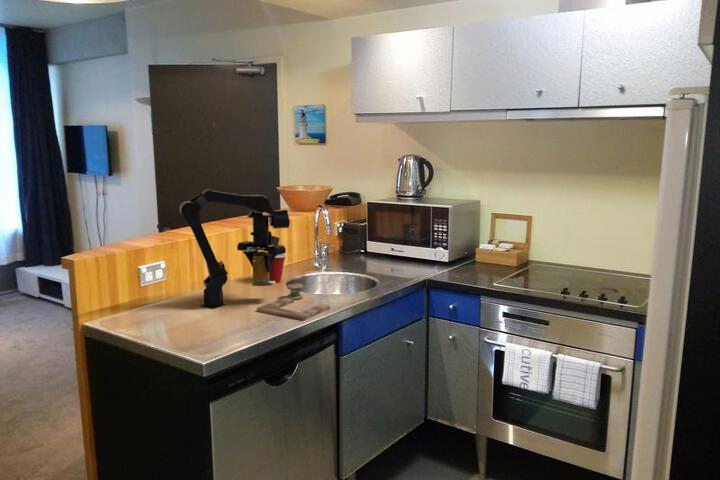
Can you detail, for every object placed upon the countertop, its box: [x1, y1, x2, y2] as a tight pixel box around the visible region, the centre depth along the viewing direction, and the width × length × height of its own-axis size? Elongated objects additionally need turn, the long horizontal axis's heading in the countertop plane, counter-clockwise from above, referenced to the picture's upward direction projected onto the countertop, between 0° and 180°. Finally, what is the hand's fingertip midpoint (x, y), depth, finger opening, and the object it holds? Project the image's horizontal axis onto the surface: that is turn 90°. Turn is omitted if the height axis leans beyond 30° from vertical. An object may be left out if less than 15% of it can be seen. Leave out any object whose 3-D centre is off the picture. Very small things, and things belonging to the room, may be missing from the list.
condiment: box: [251, 251, 276, 287], centre depth 215 cm, size 7×8×12 cm
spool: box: [286, 282, 304, 301], centre depth 222 cm, size 6×6×5 cm
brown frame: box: [256, 297, 330, 321], centre depth 207 cm, size 16×20×1 cm
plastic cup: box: [269, 253, 287, 284], centre depth 246 cm, size 11×11×12 cm
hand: (261, 270), depth 216 cm, fingers closed on condiment, 6 cm apart
